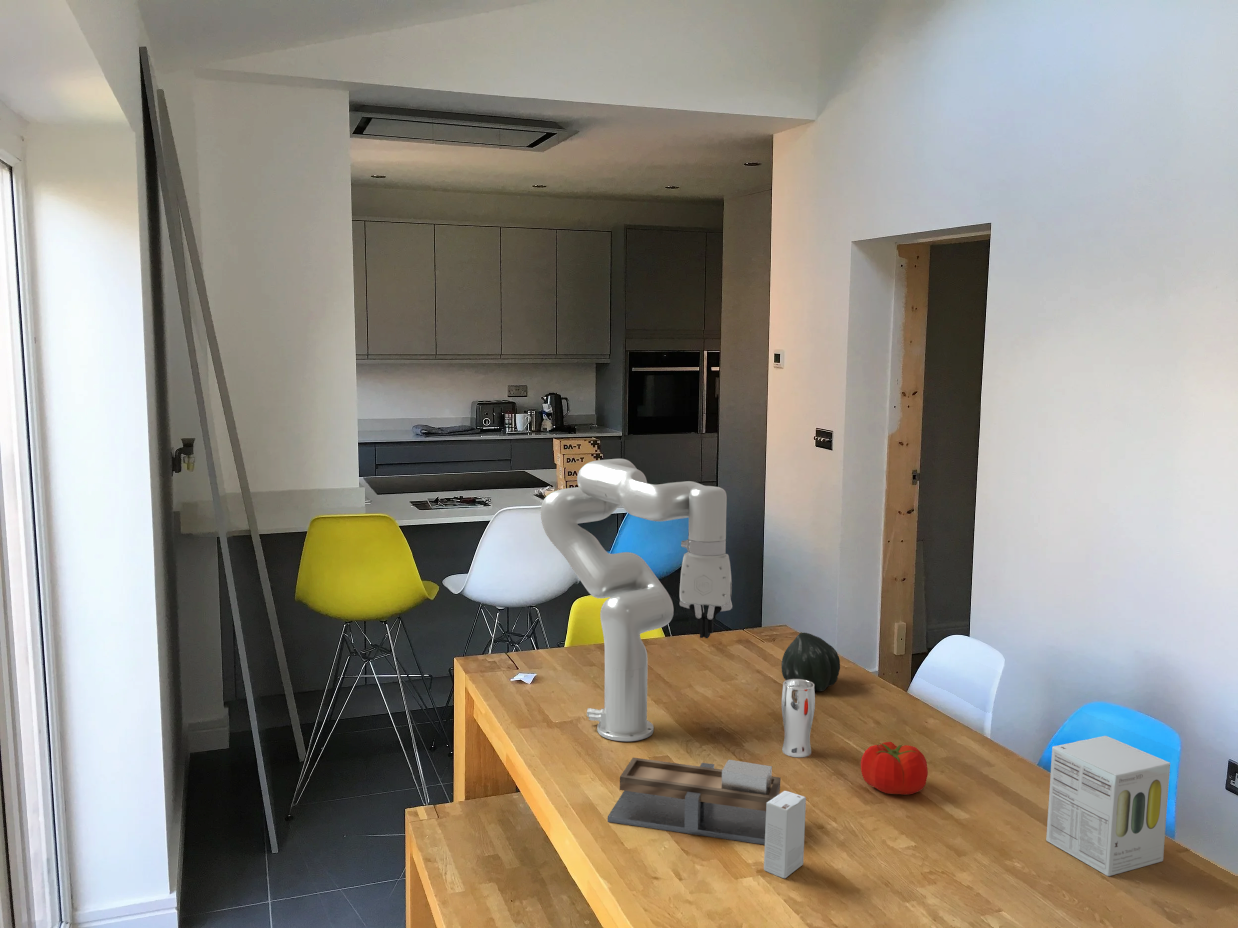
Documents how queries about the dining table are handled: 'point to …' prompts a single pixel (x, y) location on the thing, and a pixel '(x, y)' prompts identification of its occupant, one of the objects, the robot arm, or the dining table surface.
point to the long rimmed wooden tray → (689, 783)
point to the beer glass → (797, 716)
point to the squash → (811, 661)
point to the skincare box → (784, 834)
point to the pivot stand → (690, 816)
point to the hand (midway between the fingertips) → (705, 636)
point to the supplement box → (1108, 804)
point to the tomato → (894, 768)
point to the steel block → (746, 777)
